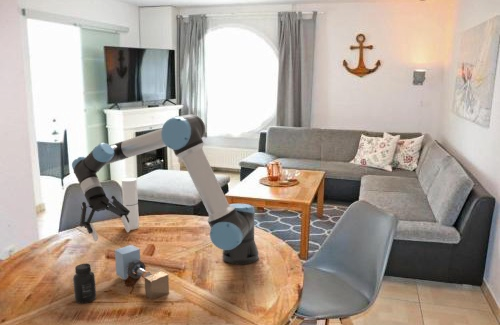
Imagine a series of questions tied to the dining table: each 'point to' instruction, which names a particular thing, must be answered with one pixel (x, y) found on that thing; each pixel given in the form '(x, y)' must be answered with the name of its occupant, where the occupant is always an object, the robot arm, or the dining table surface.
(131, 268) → the ring
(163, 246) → the dining table surface
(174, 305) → the dining table surface
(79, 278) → the supplement bottle
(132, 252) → the sleeve
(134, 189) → the cylindrical container
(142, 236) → the dining table surface
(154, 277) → the pipe rig
